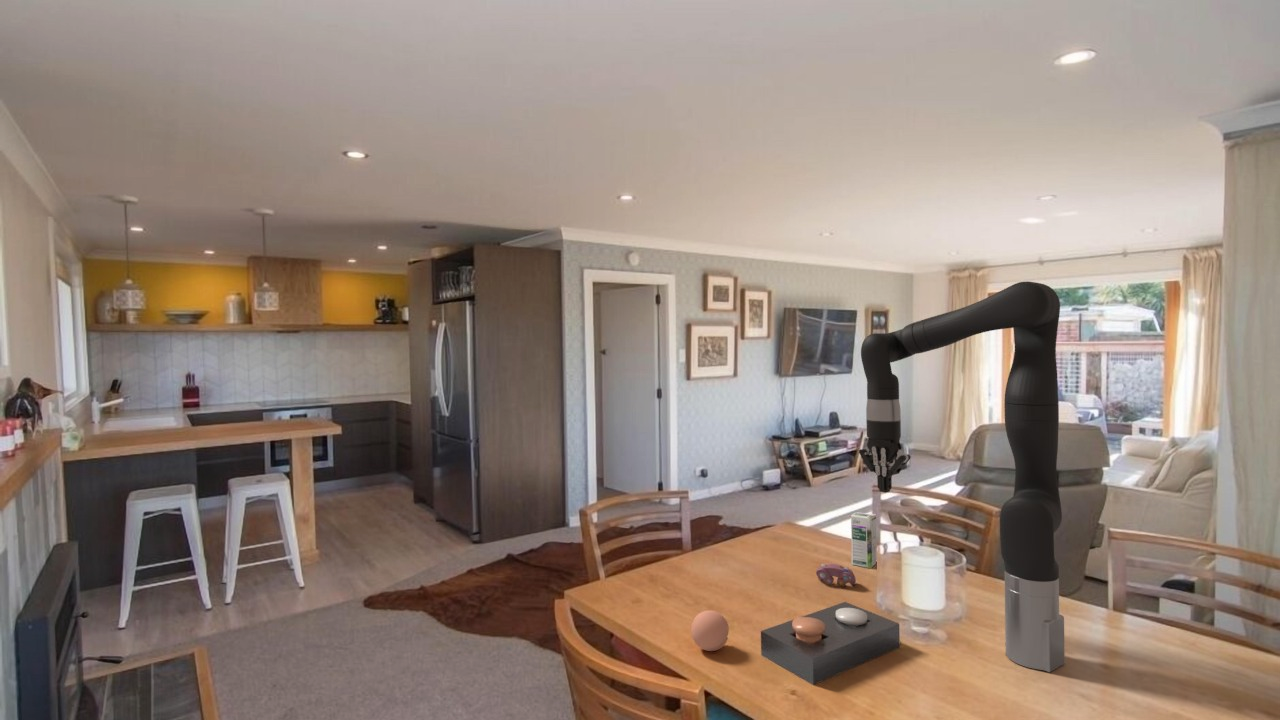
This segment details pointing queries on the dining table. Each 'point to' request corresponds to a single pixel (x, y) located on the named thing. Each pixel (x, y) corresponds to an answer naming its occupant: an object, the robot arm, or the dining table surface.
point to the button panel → (830, 644)
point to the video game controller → (835, 574)
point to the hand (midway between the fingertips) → (884, 491)
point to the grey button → (851, 616)
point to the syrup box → (863, 539)
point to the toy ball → (710, 630)
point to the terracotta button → (808, 629)
